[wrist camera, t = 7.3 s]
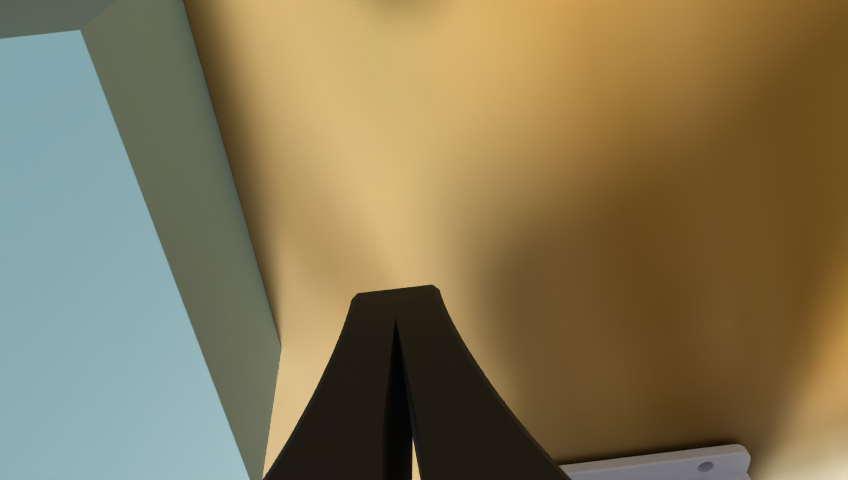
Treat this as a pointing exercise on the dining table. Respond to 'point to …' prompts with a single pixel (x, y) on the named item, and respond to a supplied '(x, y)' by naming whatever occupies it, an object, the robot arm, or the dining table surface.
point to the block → (123, 256)
